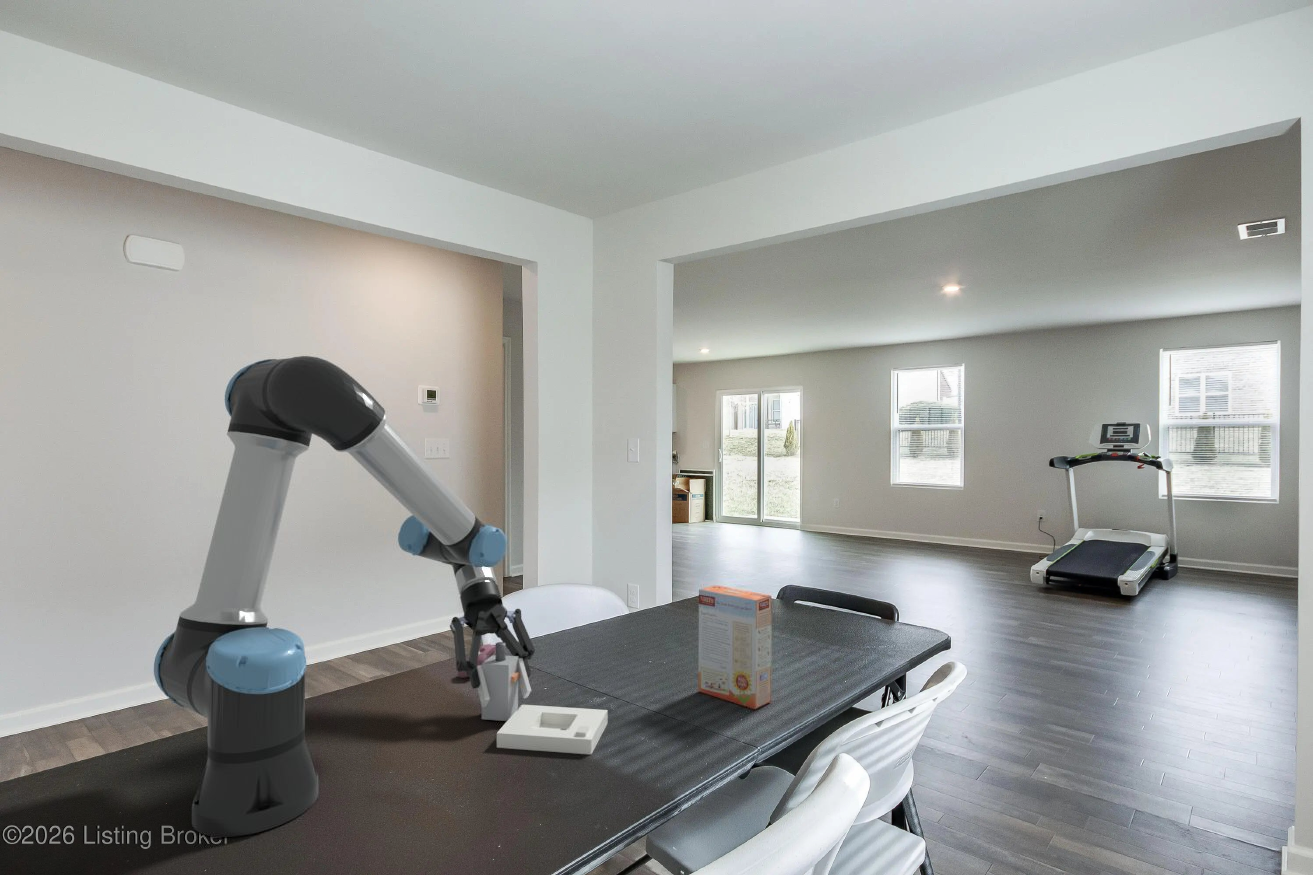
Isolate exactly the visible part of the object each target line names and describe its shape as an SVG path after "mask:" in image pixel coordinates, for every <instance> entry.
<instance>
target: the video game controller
mask: <svg viewBox="0 0 1313 875" xmlns="http://www.w3.org/2000/svg"><path fill="white" fill-rule="evenodd" d="M492 655H496V644H492V643H491V642H489V643H487V644H484V645H481V646H480V647H479V653H478V659H477V665H476V666H480V665H482V663H483V662H485V661H486V660H487V659H488V658H490V657H491V656H492ZM457 675H458V676H459V678H462V679H463V678H468V677H469V675H467V673H466V671H461V672H459V671H457ZM469 678H470V677H469Z"/></svg>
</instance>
